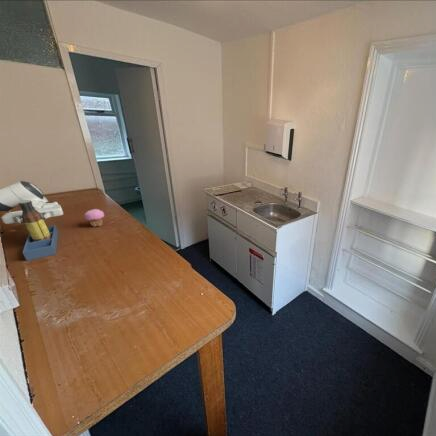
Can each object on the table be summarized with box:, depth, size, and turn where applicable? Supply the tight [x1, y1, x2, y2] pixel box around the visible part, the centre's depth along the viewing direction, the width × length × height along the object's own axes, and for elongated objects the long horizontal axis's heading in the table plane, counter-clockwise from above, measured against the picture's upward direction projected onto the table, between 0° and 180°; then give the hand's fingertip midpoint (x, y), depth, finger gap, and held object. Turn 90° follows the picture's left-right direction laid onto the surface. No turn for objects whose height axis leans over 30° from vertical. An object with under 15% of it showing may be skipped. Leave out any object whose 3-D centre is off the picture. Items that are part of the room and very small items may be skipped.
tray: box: [22, 225, 59, 262], centre depth 113 cm, size 9×27×4 cm, turn 41°
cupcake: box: [83, 208, 105, 228], centre depth 134 cm, size 9×9×10 cm
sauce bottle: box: [18, 200, 51, 241], centre depth 109 cm, size 7×6×20 cm
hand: (32, 219), depth 108 cm, fingers closed on sauce bottle, 6 cm apart
